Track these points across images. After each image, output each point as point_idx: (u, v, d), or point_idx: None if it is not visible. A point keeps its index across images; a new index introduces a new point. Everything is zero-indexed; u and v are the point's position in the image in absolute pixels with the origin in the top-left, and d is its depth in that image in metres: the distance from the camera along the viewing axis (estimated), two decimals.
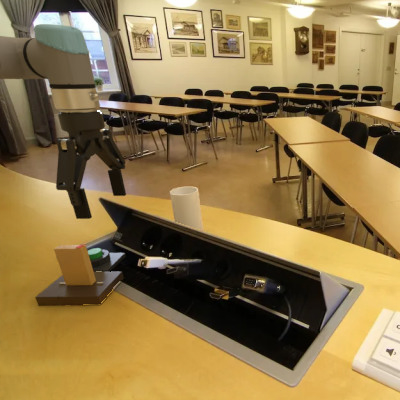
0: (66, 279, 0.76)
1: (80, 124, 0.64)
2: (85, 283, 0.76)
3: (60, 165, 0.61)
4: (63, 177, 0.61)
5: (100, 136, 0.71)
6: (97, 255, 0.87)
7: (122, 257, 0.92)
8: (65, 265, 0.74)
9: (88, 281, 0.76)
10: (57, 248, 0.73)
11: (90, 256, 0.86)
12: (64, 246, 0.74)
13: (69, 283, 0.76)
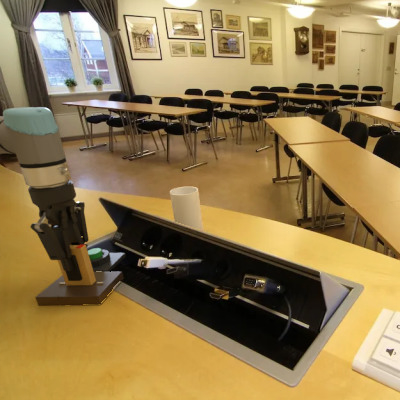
0: (66, 279, 0.76)
1: (50, 199, 0.66)
2: (85, 283, 0.76)
3: (45, 243, 0.67)
4: (52, 252, 0.68)
5: (72, 203, 0.73)
6: (97, 255, 0.87)
7: (122, 257, 0.92)
8: None
9: (88, 281, 0.76)
10: None
11: (90, 256, 0.86)
12: None
13: (69, 283, 0.76)
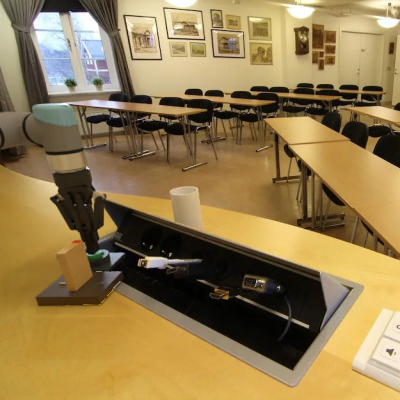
0: (76, 283, 0.74)
1: None
2: (89, 277, 0.79)
3: (99, 213, 0.83)
4: (101, 220, 0.84)
5: None
6: (97, 257, 0.87)
7: (122, 257, 0.92)
8: (74, 266, 0.74)
9: (90, 273, 0.79)
10: (65, 252, 0.71)
11: (90, 258, 0.86)
12: (64, 249, 0.72)
13: (78, 286, 0.75)
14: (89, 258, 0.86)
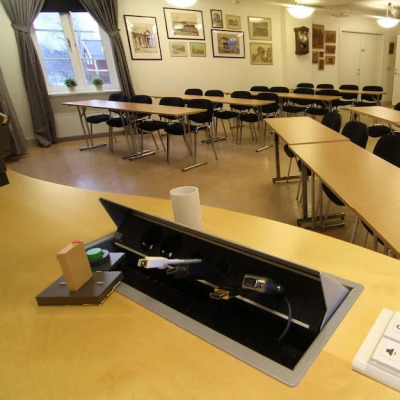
0: (76, 283, 0.74)
1: None
2: (89, 277, 0.79)
3: (2, 137, 0.72)
4: (6, 146, 0.74)
5: None
6: (97, 255, 0.87)
7: (122, 257, 0.92)
8: (74, 266, 0.74)
9: (90, 273, 0.79)
10: (65, 252, 0.71)
11: (90, 256, 0.86)
12: (64, 249, 0.72)
13: (78, 286, 0.75)
14: (89, 256, 0.86)
